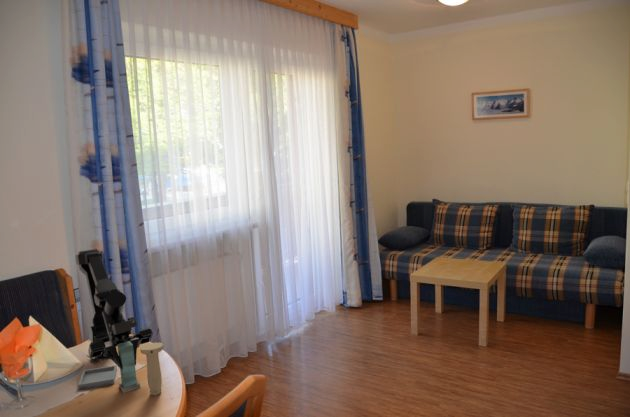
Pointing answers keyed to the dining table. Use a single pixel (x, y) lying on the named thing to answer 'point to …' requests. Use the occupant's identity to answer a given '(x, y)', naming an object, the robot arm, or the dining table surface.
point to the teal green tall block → (127, 367)
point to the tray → (98, 377)
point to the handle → (153, 366)
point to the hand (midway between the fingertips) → (128, 367)
